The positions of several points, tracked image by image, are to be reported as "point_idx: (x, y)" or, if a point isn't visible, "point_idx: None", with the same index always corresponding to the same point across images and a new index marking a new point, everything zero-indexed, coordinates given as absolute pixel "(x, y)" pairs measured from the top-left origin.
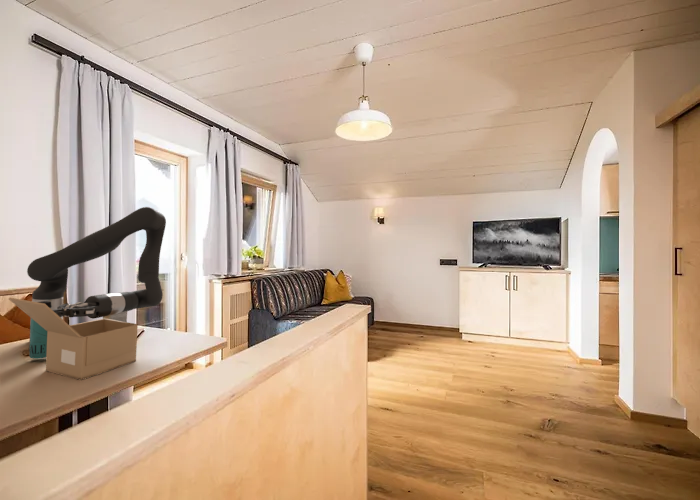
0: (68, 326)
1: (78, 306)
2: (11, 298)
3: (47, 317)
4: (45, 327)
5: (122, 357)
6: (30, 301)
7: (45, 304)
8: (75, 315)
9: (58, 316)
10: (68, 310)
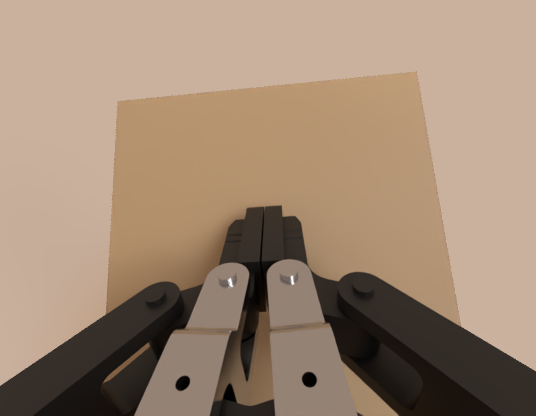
0: (112, 296)
1: (150, 406)
2: (393, 76)
3: (223, 219)
4: None
5: None
6: (228, 91)
7: (117, 106)
8: (133, 360)
9: (113, 203)
10: (195, 299)
